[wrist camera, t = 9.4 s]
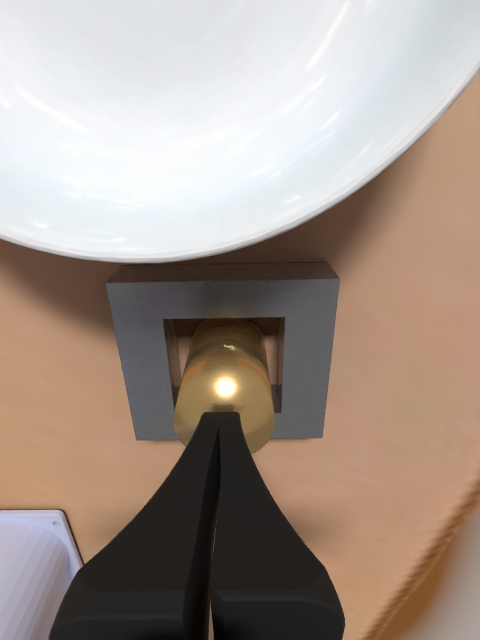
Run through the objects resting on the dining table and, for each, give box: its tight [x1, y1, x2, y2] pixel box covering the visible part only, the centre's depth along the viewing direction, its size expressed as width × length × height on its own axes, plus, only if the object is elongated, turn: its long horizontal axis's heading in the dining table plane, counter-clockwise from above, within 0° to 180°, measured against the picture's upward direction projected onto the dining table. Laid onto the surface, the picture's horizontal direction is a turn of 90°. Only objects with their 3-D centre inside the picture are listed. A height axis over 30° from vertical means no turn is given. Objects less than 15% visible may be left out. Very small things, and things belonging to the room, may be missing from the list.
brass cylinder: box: [173, 318, 275, 454], centre depth 17 cm, size 4×4×6 cm
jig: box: [106, 262, 340, 440], centre depth 18 cm, size 9×10×2 cm
